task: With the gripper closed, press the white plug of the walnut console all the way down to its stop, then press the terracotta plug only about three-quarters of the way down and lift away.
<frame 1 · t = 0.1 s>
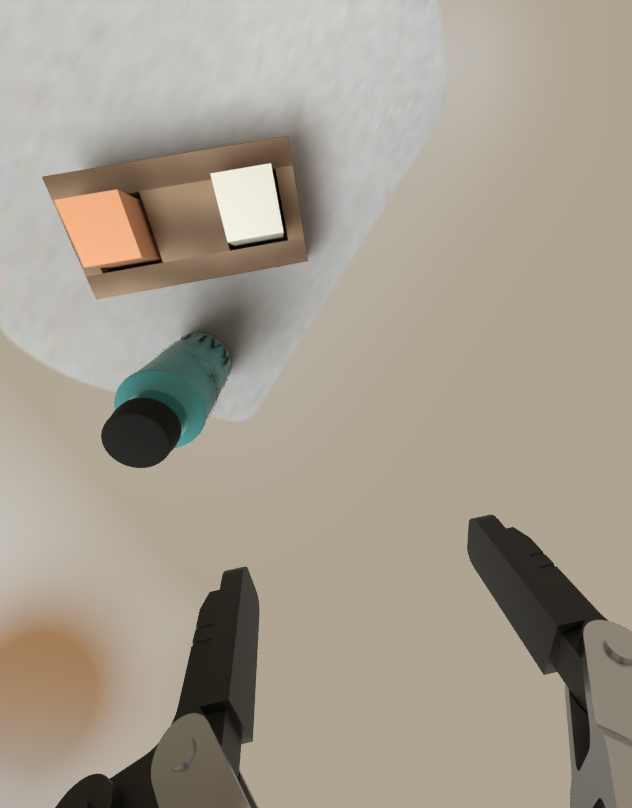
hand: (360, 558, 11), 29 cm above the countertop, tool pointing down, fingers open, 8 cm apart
terracotta plug: (115, 233, 25), point 7 cm above the countertop, slide at 0.0 cm
white plug: (251, 209, 25), point 7 cm above the countertop, slide at 0.0 cm
walnut console: (202, 230, 31), on the countertop
beverage bottle: (206, 355, 36), on the countertop
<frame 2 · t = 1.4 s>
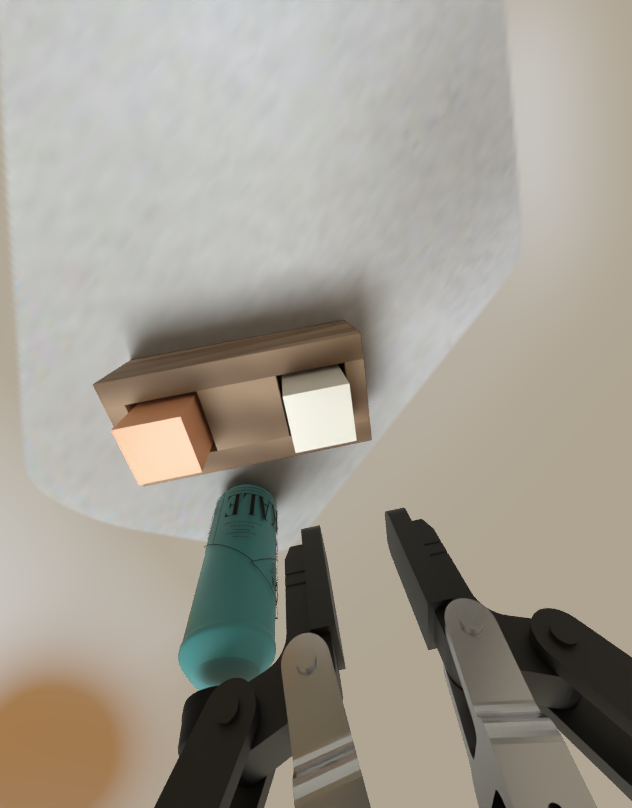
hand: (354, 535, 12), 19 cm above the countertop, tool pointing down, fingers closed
terracotta plug: (170, 433, 23), point 7 cm above the countertop, slide at 0.0 cm
white plug: (317, 404, 23), point 7 cm above the countertop, slide at 0.0 cm
walnut console: (251, 386, 29), on the countertop
beverage bottle: (248, 495, 34), on the countertop
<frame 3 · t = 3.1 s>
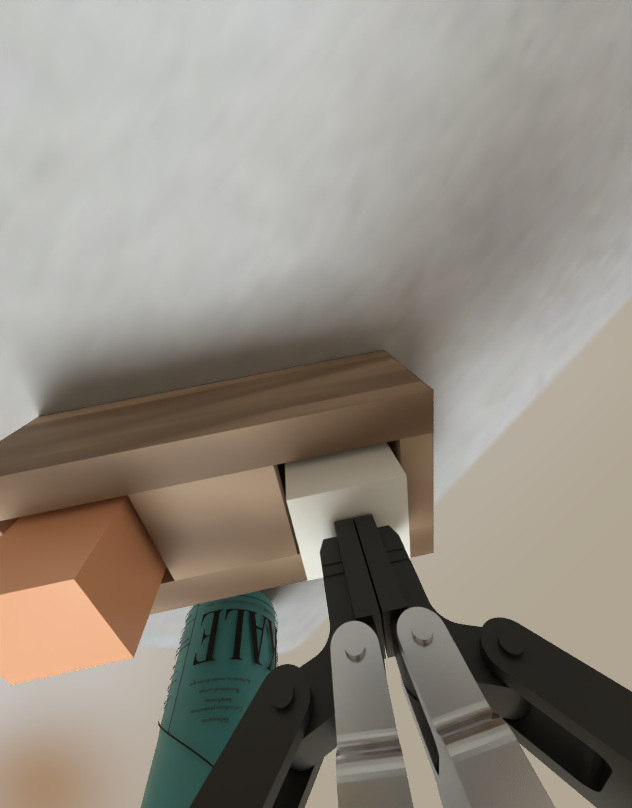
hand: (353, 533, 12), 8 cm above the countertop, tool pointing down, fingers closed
terracotta plug: (82, 569, 13), point 7 cm above the countertop, slide at 0.0 cm
white plug: (341, 489, 14), point 5 cm above the countertop, slide at 1.5 cm, touching gripper
walnut console: (236, 451, 19), on the countertop
beverage bottle: (236, 590, 24), on the countertop
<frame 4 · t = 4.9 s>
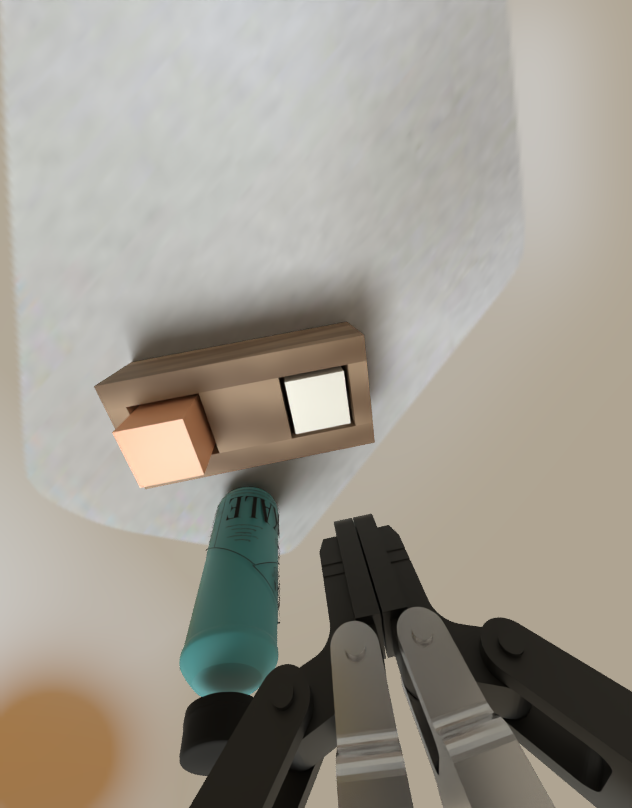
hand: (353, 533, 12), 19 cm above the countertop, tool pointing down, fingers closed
terracotta plug: (172, 435, 23), point 7 cm above the countertop, slide at 0.0 cm
white plug: (315, 391, 26), point 4 cm above the countertop, slide at 3.1 cm
walnut console: (253, 388, 29), on the countertop
beverage bottle: (249, 498, 34), on the countertop
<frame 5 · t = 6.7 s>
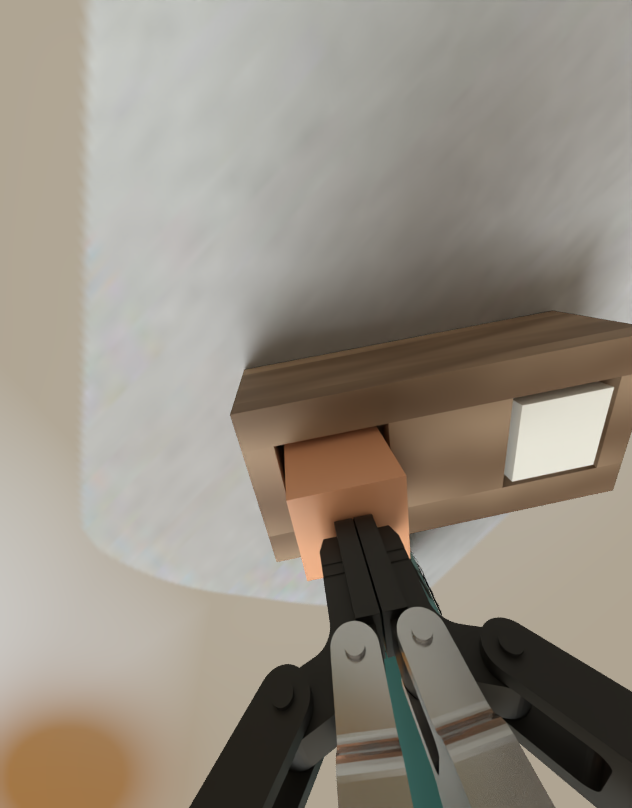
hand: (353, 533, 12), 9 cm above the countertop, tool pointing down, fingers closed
terracotta plug: (341, 489, 14), point 7 cm above the countertop, slide at 0.1 cm, touching gripper
white plug: (523, 414, 17), point 4 cm above the countertop, slide at 3.1 cm
walnut console: (404, 406, 20), on the countertop
beverage bottle: (368, 546, 26), on the countertop
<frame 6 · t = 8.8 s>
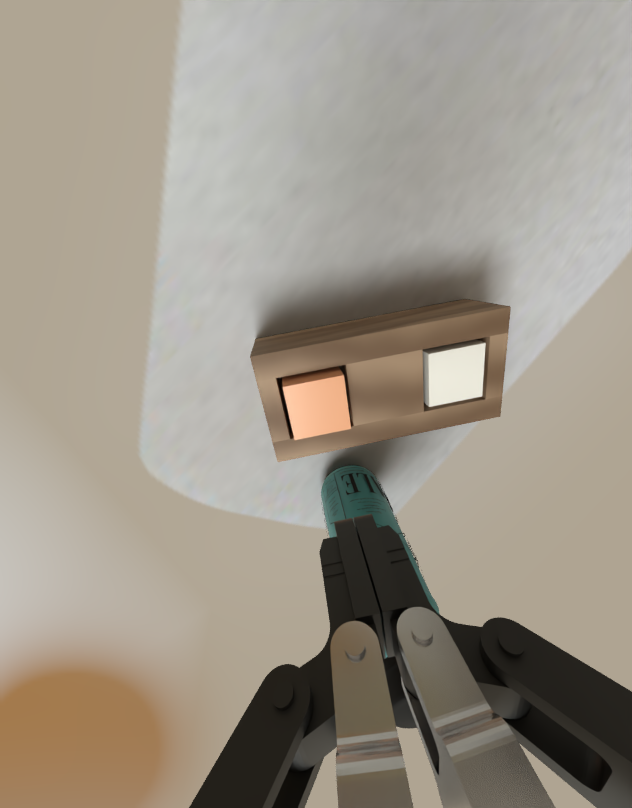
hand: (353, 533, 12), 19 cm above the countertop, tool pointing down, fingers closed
terracotta plug: (314, 396, 25), point 5 cm above the countertop, slide at 2.2 cm
white plug: (440, 366, 26), point 4 cm above the countertop, slide at 3.1 cm
walnut console: (366, 366, 29), on the countertop
beverage bottle: (346, 478, 35), on the countertop
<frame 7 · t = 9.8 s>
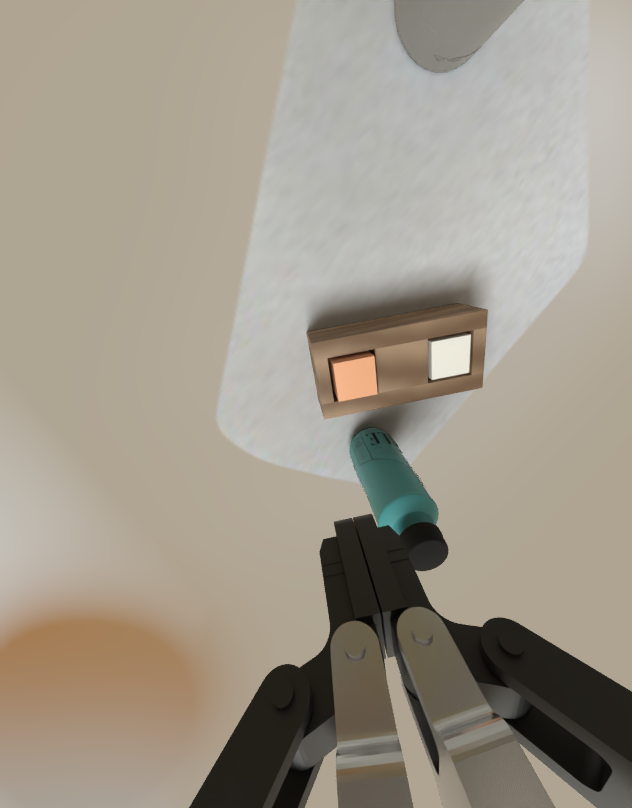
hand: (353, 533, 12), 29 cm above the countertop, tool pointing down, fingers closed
terracotta plug: (351, 372, 35), point 5 cm above the countertop, slide at 2.2 cm
white plug: (440, 352, 37), point 4 cm above the countertop, slide at 3.1 cm
walnut console: (385, 353, 40), on the countertop
beverage bottle: (367, 439, 45), on the countertop
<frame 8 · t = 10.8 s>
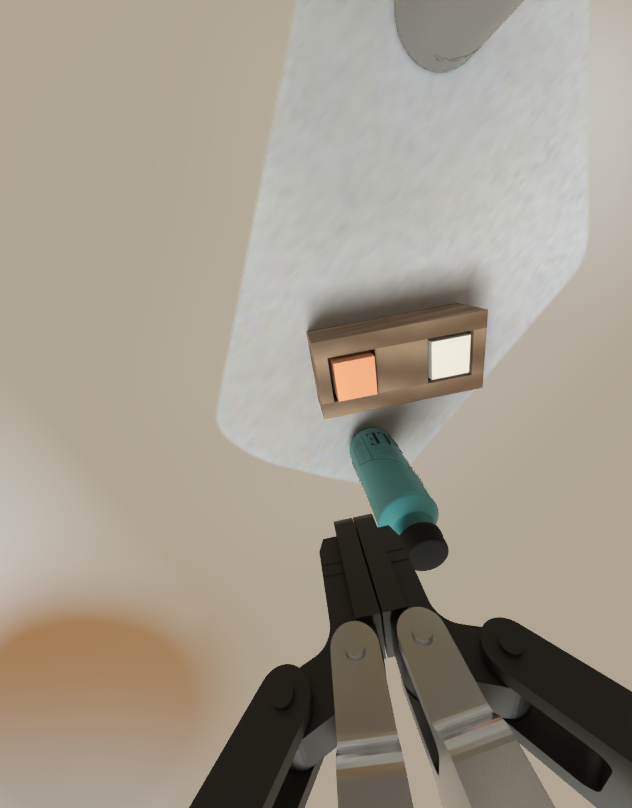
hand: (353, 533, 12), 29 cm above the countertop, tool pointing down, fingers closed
terracotta plug: (351, 372, 35), point 5 cm above the countertop, slide at 2.2 cm
white plug: (440, 352, 37), point 4 cm above the countertop, slide at 3.1 cm
walnut console: (385, 353, 40), on the countertop
beverage bottle: (367, 439, 45), on the countertop
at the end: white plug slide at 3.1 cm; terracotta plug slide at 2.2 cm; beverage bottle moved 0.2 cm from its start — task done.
